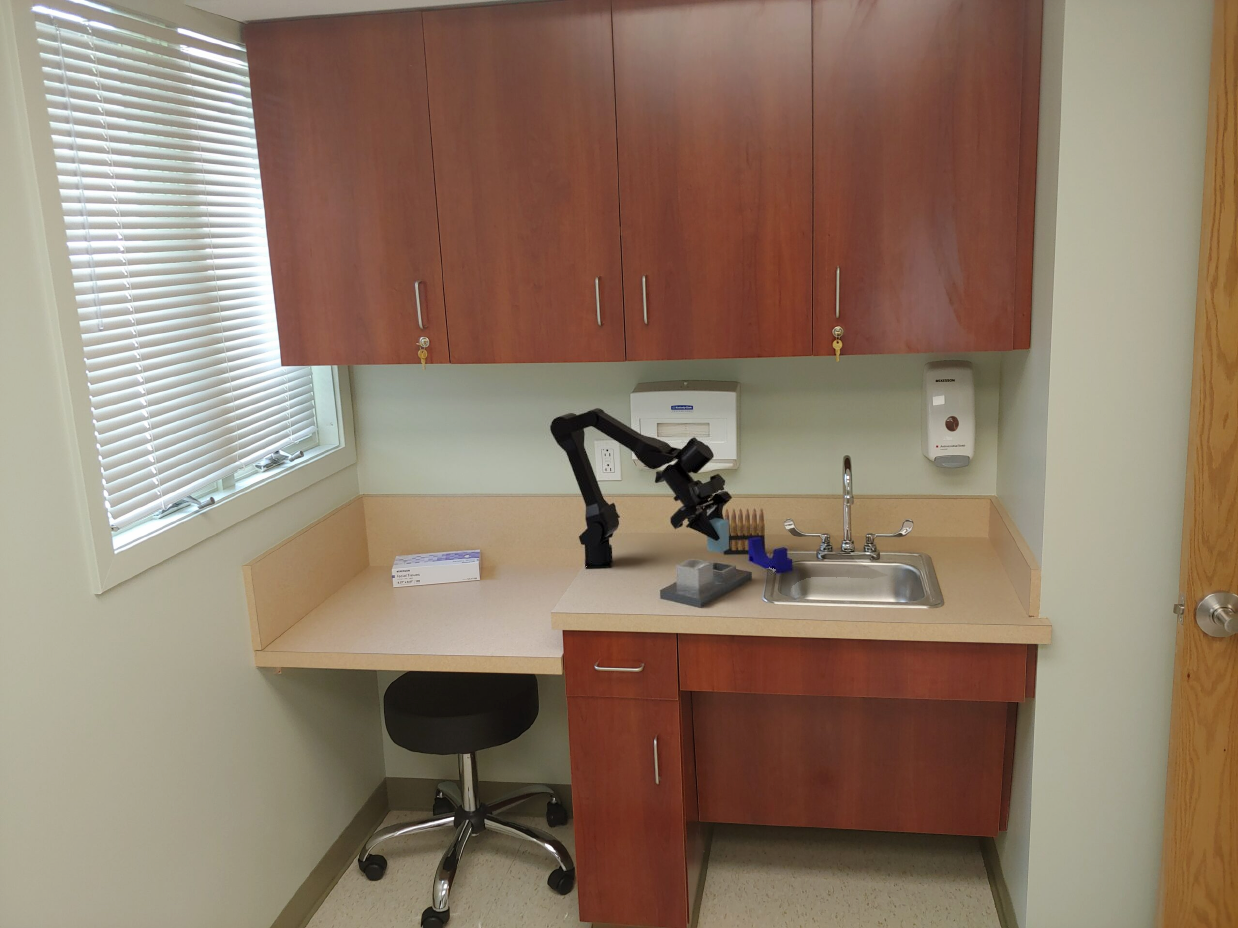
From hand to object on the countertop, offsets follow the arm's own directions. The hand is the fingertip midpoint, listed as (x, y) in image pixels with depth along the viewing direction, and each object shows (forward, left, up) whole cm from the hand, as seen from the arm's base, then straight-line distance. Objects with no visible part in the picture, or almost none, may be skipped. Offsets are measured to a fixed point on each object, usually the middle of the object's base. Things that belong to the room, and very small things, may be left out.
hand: (723, 537), depth 228 cm
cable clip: (+13, +12, -12) cm, 22 cm away
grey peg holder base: (-4, -3, -11) cm, 12 cm away
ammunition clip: (+9, +23, -12) cm, 27 cm away
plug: (-1, +1, -3) cm, 3 cm away
